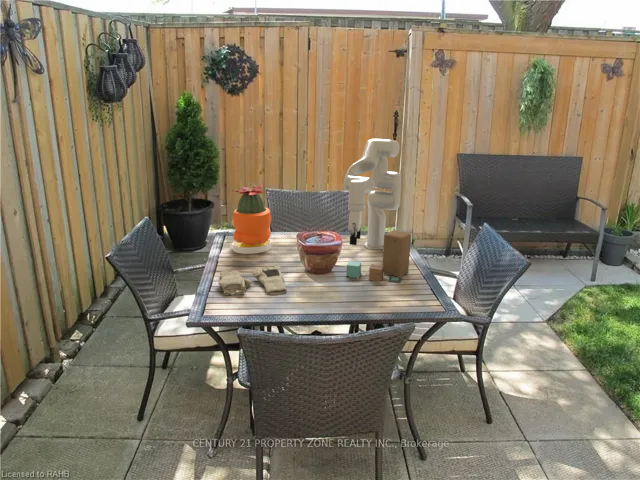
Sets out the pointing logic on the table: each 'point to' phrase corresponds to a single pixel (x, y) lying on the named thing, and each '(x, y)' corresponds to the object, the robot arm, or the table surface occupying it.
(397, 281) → the card
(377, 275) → the walnut cube
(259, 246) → the potted cactus
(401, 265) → the wooden block
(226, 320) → the table surface
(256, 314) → the table surface
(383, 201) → the robot arm
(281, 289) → the pair of gloves
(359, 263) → the teal cube
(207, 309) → the table surface
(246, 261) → the table surface
